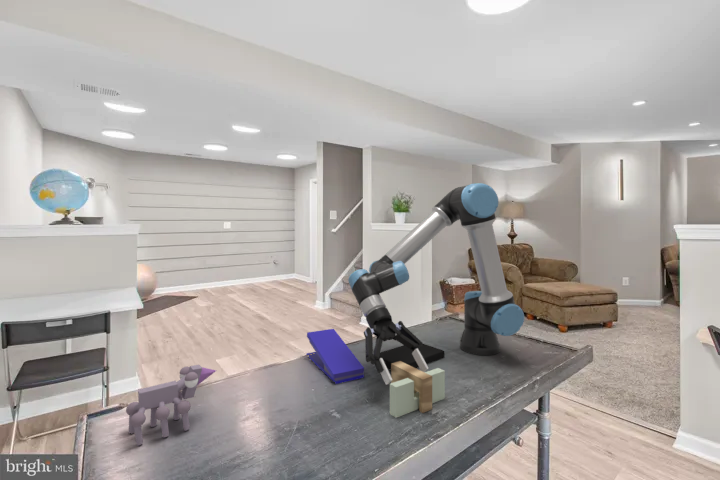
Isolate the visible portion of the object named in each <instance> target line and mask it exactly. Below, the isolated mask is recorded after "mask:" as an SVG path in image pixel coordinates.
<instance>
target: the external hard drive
mask: <svg viewBox="0 0 720 480" xmlns="http://www.w3.org/2000/svg"><path fill="white" fill-rule="evenodd" d="M417 344H418V343H417ZM413 347H414V346H413ZM420 350H421V352H422V354H423V356H424V361H425V362H426V364H427V365H429V364H432V363H434V362H437V361H439V360H442V359H444V358H445V350H443V349H441V348H437V347H434V346H431V345H429V344H425V343H423V345H422V346H421V347H420ZM412 352H413V351H412V350H410V349H409V348H407V347H406V346H404V345H403V344H402V345H401V346H397V347H393V348H390V349H386V350H384V351H380V356H379V359H380V358H382V359H383V361H384V363H385V365H386V367H387V369H388V370H390V371H391V364H392V363H395V362H399V361H401V362H404V363H406V364H408V365H410V366H412V367H414V368H416V369H418V368H419V366H418V364H417V362H416V360H415V359H414V357H413V355H412ZM419 369H420V368H419Z"/></svg>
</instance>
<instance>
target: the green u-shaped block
mask: <svg viewBox="0 0 720 480" xmlns="http://www.w3.org/2000/svg"><path fill="white" fill-rule="evenodd" d="M425 373H427V374H429V375H431V376H432V404H434V403H437V402H439V401H442V400H445V399H446V395H445V394H446V370H444V369H443V368H442V369H441V368H440V367H436V368H433V369H431V370H426V371H425ZM417 410H419V392H417V393H415V394H414V381H413V380H411V379H409V378H406V379H403V380H400V381H397V382H393V383H391V382H390V383H389V414H390V415H391V416H392V417H393V418H400V417H402V416H405V415H408V414H410V413H412V412H415V411H417Z"/></svg>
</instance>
